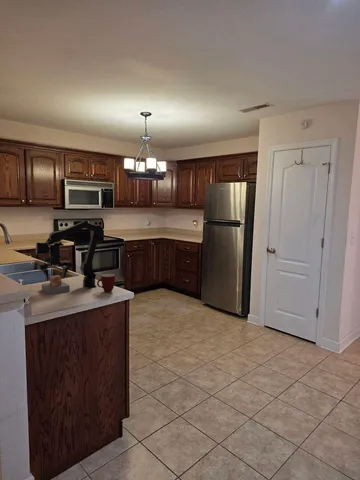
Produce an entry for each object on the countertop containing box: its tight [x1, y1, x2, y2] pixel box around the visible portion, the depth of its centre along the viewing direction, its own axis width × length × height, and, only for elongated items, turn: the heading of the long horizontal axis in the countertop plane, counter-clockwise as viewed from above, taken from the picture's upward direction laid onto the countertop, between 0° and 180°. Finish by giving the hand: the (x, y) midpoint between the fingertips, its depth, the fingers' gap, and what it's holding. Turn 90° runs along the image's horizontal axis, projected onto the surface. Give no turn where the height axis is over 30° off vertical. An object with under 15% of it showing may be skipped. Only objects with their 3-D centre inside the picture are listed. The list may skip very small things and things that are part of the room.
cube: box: [49, 274, 62, 286], centre depth 186 cm, size 5×5×5 cm
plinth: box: [41, 280, 71, 295], centre depth 186 cm, size 12×12×4 cm
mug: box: [96, 273, 116, 293], centre depth 187 cm, size 11×8×10 cm
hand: (55, 279), depth 186 cm, fingers open, 9 cm apart
